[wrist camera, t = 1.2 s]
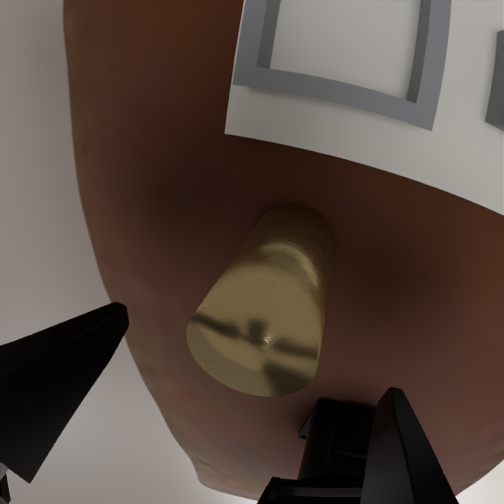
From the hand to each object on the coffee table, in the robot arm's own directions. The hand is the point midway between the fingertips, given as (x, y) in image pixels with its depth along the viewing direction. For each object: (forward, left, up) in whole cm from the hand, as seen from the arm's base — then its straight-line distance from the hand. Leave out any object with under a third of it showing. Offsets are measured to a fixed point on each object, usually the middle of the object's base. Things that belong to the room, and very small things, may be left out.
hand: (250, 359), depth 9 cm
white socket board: (+11, -5, -8) cm, 15 cm away
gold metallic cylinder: (0, 0, -8) cm, 8 cm away
